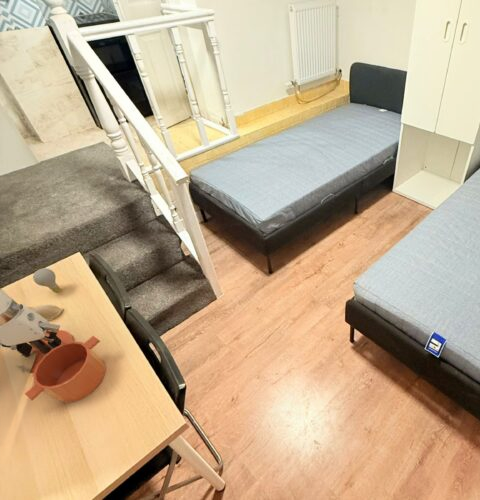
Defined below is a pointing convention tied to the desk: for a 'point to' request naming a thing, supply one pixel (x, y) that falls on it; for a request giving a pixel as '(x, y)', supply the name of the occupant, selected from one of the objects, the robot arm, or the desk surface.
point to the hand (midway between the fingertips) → (44, 348)
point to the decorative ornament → (47, 311)
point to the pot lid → (46, 346)
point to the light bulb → (46, 279)
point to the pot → (68, 372)
